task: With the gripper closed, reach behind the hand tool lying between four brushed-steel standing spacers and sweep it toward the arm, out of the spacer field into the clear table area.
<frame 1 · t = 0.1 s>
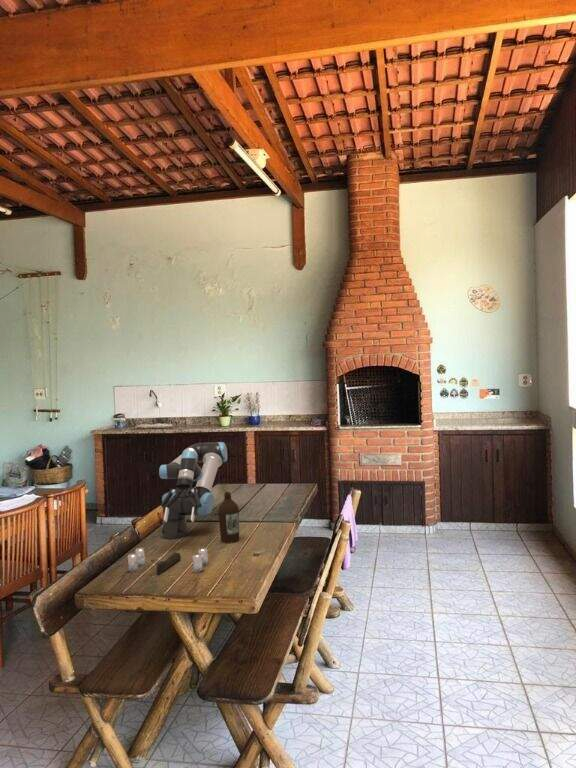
hand: (178, 521, 276), 15 cm above the table, tool tilted 35°, fingers open, 13 cm apart
spacer c: (203, 564, 258), on the table
spacer b: (133, 570, 255), on the table
spacer d: (198, 570, 250), on the table
spacer a: (140, 564, 263), on the table
hand tool: (168, 568, 257), on the table
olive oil: (230, 540, 292), on the table
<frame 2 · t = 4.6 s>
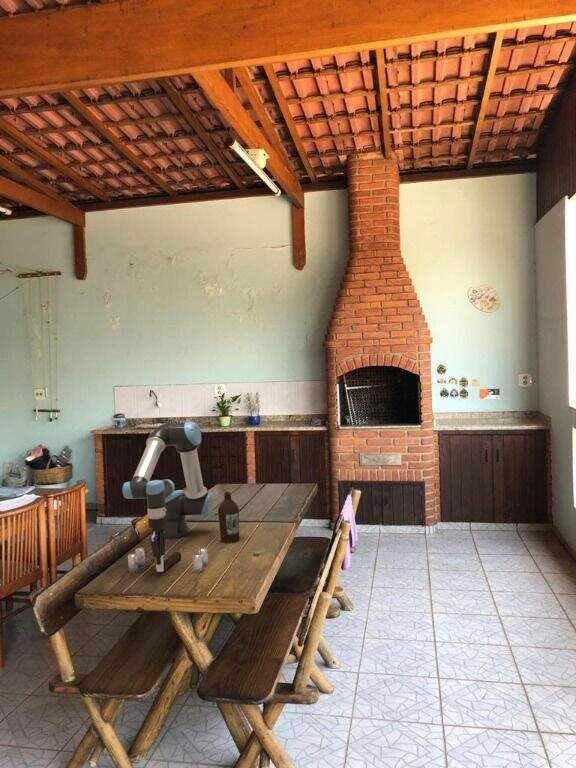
hand: (160, 571, 247), 2 cm above the table, tool pointing down, fingers closed
hand tool: (169, 567, 257), on the table, touching gripper
everything else where it was.
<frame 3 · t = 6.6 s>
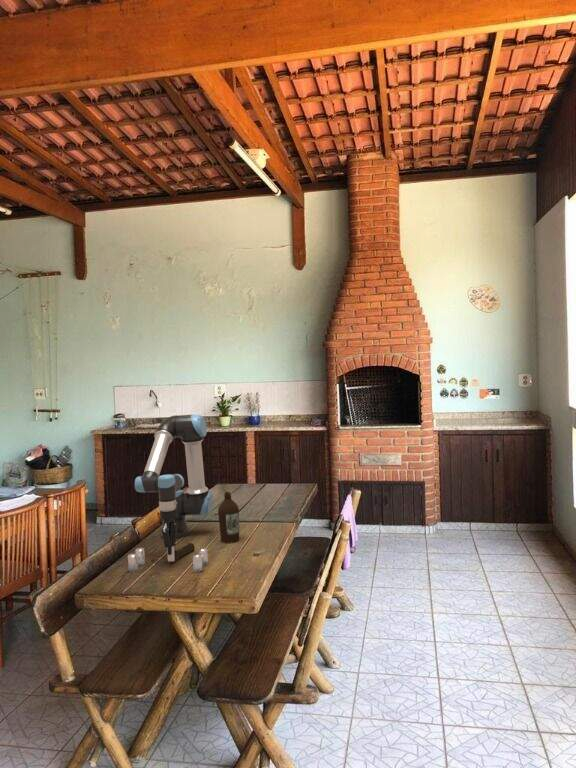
hand: (171, 560, 260), 2 cm above the table, tool pointing down, fingers closed
hand tool: (181, 557, 270), on the table, touching gripper
everything else where it was.
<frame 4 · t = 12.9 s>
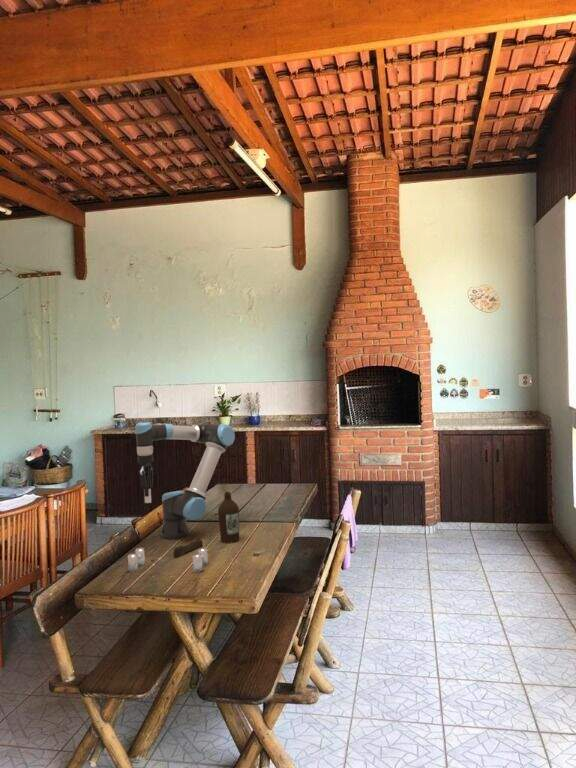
hand: (148, 502, 279), 24 cm above the table, tool pointing down, fingers closed
hand tool: (188, 553, 277), on the table
everything else where it was.
at the end: hand tool inside the target area (4.7 cm from its centre), on the table; hand tool moved 20.9 cm from its start; spacer a moved 0.0 cm from its start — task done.
